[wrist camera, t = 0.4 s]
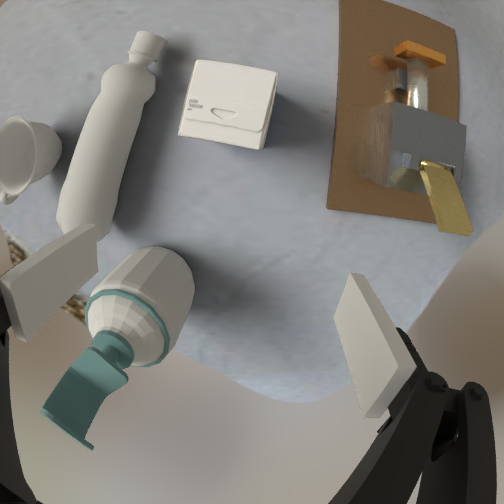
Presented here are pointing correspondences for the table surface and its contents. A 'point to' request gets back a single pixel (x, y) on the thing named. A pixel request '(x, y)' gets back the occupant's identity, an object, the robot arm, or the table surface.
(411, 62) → the lynch pin
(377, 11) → the block
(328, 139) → the table surface
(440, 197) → the tab
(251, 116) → the ink box
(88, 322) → the soap bottle
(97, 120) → the bottle
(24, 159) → the teacup
